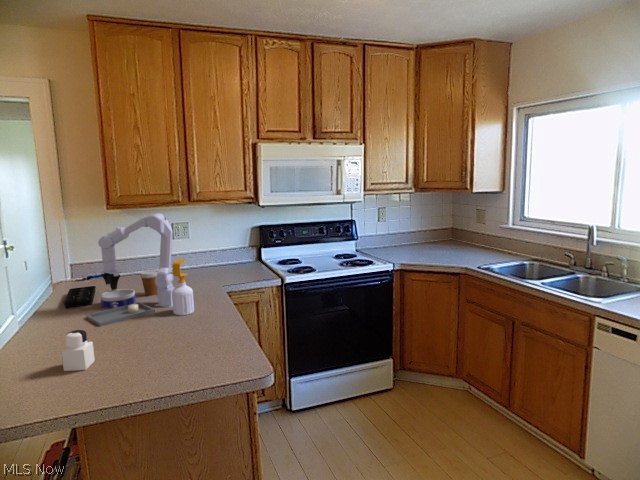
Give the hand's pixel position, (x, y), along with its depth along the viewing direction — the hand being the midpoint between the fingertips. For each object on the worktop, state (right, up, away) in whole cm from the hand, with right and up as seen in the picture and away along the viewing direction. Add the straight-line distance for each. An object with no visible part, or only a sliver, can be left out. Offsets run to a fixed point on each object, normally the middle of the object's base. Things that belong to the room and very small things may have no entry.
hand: (112, 288), depth 211 cm
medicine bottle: (+19, -19, -63) cm, 69 cm away
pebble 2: (+14, -10, -9) cm, 19 cm away
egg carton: (-23, -8, +15) cm, 28 cm away
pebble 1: (0, -1, 0) cm, 1 cm away
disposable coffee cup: (+11, -6, +21) cm, 24 cm away
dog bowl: (+1, -9, +5) cm, 10 cm away
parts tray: (+10, -11, -13) cm, 20 cm away
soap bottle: (+37, -10, -10) cm, 40 cm away
